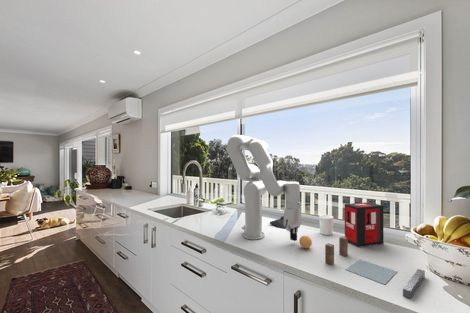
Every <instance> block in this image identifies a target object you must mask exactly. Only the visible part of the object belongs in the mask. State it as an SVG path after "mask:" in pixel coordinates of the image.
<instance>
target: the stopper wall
mask: <svg viewBox="0 0 470 313" xmlns="http://www.w3.org/2000/svg"><path fill="white" fill-rule="evenodd" d="M425 272H426V271H425V270H423V269H421V268H417V270H416V271H415V272H414V273H413V275H412V276H411V277H410V279H409V280H408V281H407V283H406V284H405V285H404V286H403V288H402V297H405V298H407V299H409V300H411V299H412V298H413V296H414V294H415V293H416V292H417V290H418V288H419V287H420V285H421V283H422V282H423V281H424V280H425V277H426V273H425Z"/></svg>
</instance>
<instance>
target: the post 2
mask: <svg viewBox="0 0 470 313" xmlns="http://www.w3.org/2000/svg"><path fill="white" fill-rule="evenodd" d="M338 240H339V241H338V242H339V245H338V246H339V247H338V248H339V255H340V256H341V257H347V256H348V255H349V254H348V253H349V252H348V248H349V246H348V244H349V243H348V238H347V237H345V236H340V237H339V238H338Z"/></svg>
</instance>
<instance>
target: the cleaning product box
mask: <svg viewBox="0 0 470 313" xmlns="http://www.w3.org/2000/svg"><path fill="white" fill-rule="evenodd" d="M344 237H347V238H348V244H350V245H353V246H354V247H357V248H362V246H363V247H370V246H374V245H375V246H376V244H377V245H383V244H384V205H381V204H377V203H374V202H371V201H369V202H355V203H353V202H352V203H344ZM369 245H370V246H369Z"/></svg>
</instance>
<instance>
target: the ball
mask: <svg viewBox="0 0 470 313" xmlns="http://www.w3.org/2000/svg"><path fill="white" fill-rule="evenodd" d="M298 242H299V245H300V246H301V248H303V249H309V248H310V247H312V245H313V241H312V239H311V237H309V236H308V235H302V236H301V237H300V238H299V240H298Z"/></svg>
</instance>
